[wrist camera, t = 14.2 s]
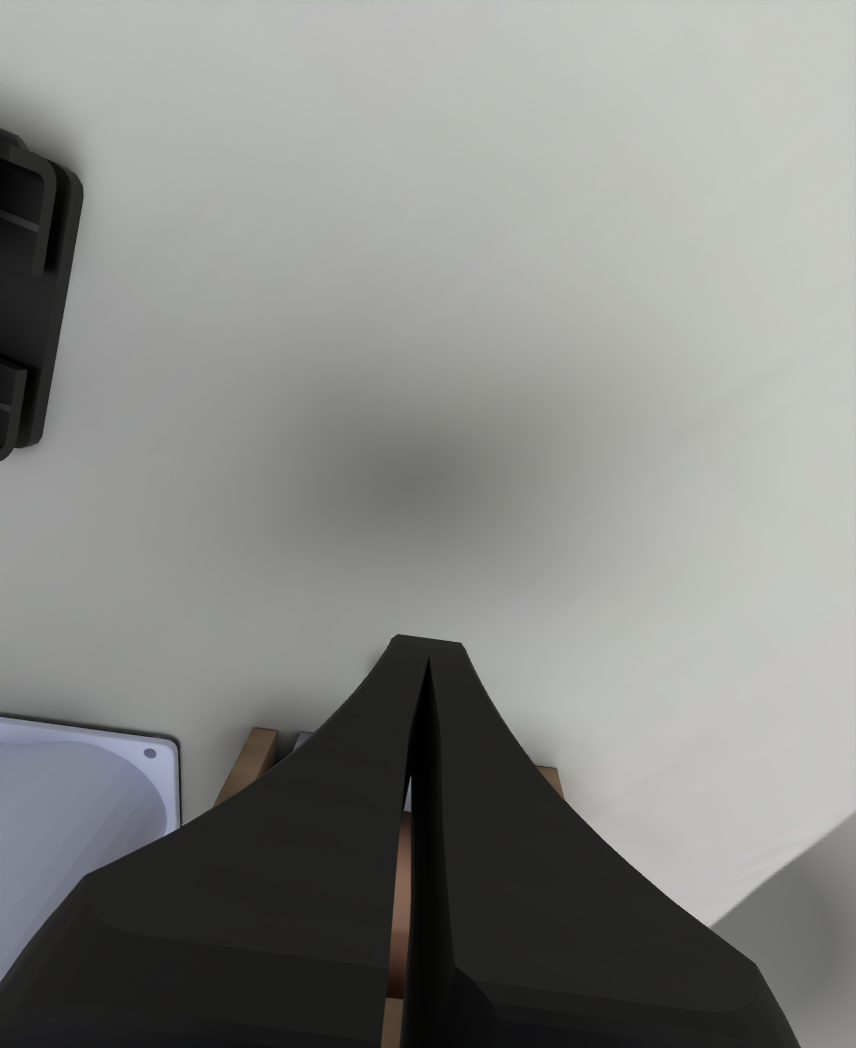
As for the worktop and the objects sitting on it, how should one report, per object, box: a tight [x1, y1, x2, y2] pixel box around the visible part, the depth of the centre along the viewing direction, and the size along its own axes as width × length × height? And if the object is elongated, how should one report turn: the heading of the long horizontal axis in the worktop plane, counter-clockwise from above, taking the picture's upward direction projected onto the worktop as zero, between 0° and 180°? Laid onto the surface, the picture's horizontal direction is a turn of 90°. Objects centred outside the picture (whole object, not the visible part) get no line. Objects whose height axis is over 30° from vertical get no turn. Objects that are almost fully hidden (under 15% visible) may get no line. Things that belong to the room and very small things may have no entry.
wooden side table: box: [213, 728, 564, 1048], centre depth 19 cm, size 13×10×10 cm
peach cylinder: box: [386, 811, 411, 1000], centre depth 21 cm, size 4×4×5 cm
